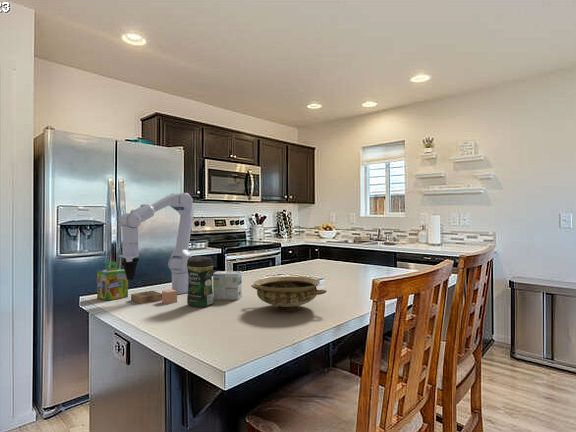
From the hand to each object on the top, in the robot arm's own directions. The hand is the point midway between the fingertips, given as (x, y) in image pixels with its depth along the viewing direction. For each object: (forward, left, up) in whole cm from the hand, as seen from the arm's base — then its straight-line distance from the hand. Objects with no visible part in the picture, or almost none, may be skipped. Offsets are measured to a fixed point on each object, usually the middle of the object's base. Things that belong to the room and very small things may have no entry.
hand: (131, 278), depth 143 cm
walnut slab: (-6, 0, -10) cm, 12 cm away
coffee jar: (-17, +23, -10) cm, 30 cm away
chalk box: (+2, -15, -10) cm, 18 cm away
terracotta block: (-11, +10, -10) cm, 18 cm away
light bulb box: (-31, +21, -10) cm, 39 cm away
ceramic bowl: (-36, +51, -10) cm, 63 cm away
